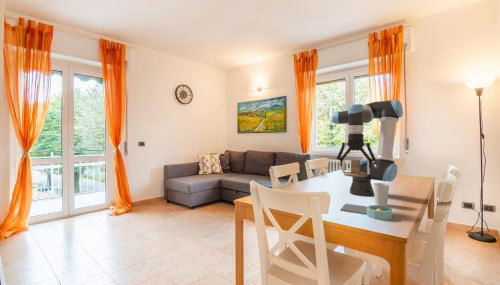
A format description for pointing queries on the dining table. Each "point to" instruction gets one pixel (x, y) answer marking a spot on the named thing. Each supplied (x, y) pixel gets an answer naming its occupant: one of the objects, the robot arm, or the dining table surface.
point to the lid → (355, 170)
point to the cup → (381, 194)
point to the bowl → (379, 212)
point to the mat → (354, 208)
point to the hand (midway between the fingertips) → (355, 173)
